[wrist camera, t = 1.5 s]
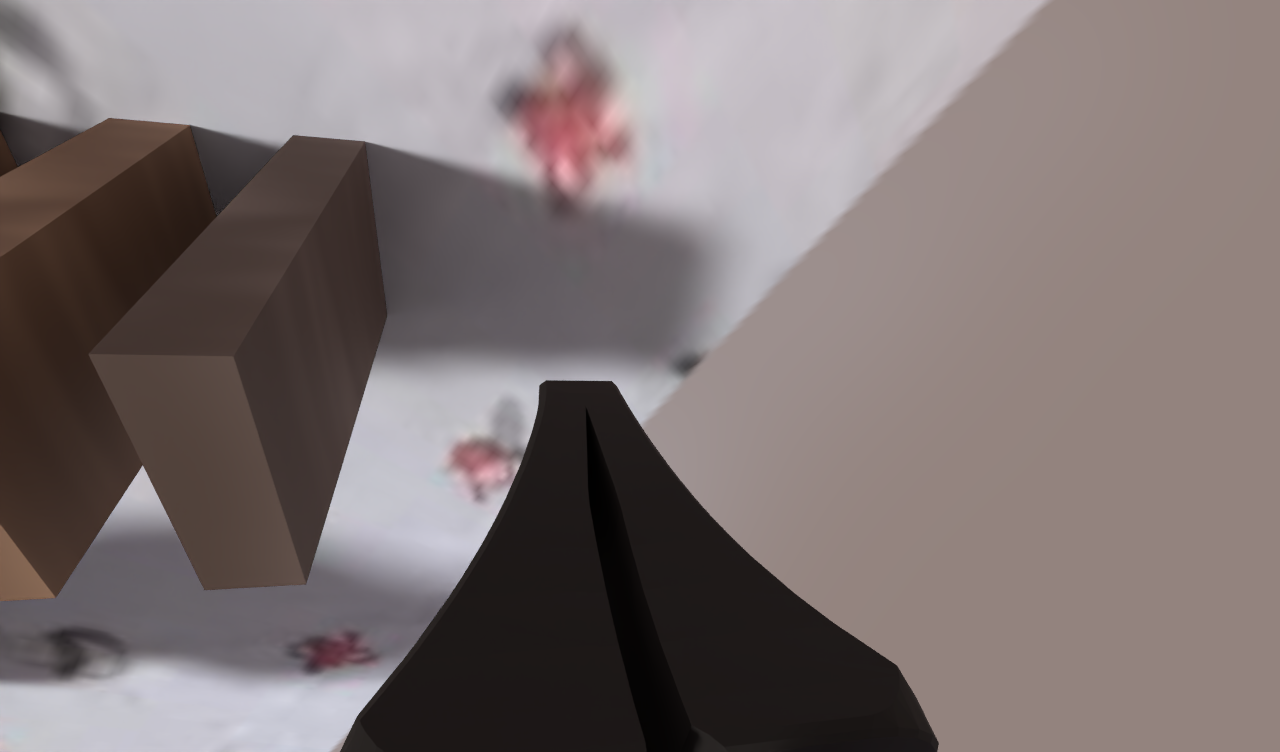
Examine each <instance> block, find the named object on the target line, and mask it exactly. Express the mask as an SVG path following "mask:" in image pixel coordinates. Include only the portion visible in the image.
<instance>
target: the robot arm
mask: <svg viewBox="0 0 1280 752" xmlns="http://www.w3.org/2000/svg"><path fill="white" fill-rule="evenodd" d="M938 745H939V743H938V741H937V739H936V737H935V735H934V733H933V731H932V729H931V727H930V725H929V723H928V721H927V719H926V717H925V715H924V712H923V710H922V708H921V706H920V704H919V702H918V700H917V698H916V697H915V695H914V693H913V691H912V690H911V688H910V687H909V685H908V683H907V682H906V680H905V678H904V677H903V675H902V673H901V672H900V670H899V668H898V667H897V665H895V664H894V663H892V662H891V661H889V660H888V659H886V658H885V657H883V656H882V655H880V654H879V653H877V652H876V651H875V650H873V649H872V648H870V647H869V646H867V645H865V644H864V643H863V642H861V641H860V640H858V639H857V638H855V637H854V636H852V635H851V634H849V633H848V632H846V631H845V630H843V629H842V628H840V627H839V626H837V625H836V624H834V623H833V622H832V621H830V620H829V619H828V618H826V617H825V616H824V615H822V614H821V613H820V612H818V611H817V610H816V609H814V608H813V607H812V606H810V605H809V604H808V603H806V602H805V601H804V600H802V599H801V598H800V597H798V596H797V595H796V594H795V593H793V592H792V591H791V590H790V589H788V588H787V587H786V586H785V585H784V584H783V583H782V582H781V581H779V580H778V579H777V578H776V577H775V576H773V575H772V574H771V573H770V572H769V571H768V570H767V569H765V568H764V567H763V566H762V565H761V564H760V563H758V562H757V561H756V560H755V559H754V558H753V557H751V556H750V555H749V554H748V553H747V552H746V551H745V550H744V549H743V548H742V547H741V546H740V545H739V544H738V543H737V542H736V541H735V540H734V539H733V538H732V537H731V536H730V535H729V534H728V533H727V532H726V531H725V530H724V529H723V528H722V527H721V526H720V525H719V524H718V523H717V522H716V521H715V520H714V519H713V518H712V517H711V516H710V515H709V513H708V512H707V511H706V510H705V509H704V508H703V507H702V506H701V504H699V502H698V501H697V500H696V499H695V498H694V496H693V495H692V494H691V493H690V492H689V490H688V489H687V488H686V487H685V485H684V484H683V483H682V482H681V481H680V479H679V478H678V477H677V476H676V474H675V473H674V472H673V470H672V469H671V468H670V467H669V465H668V464H667V463H666V461H665V460H664V459H663V457H662V456H661V454H660V453H659V452H658V450H657V449H656V447H655V446H654V445H653V443H652V442H651V440H650V439H649V438H648V436H647V435H646V433H645V432H644V430H643V429H642V427H641V426H640V424H639V422H638V421H637V419H636V418H635V416H634V415H633V413H632V411H631V410H630V408H629V407H628V405H627V403H626V402H625V400H624V398H623V396H622V395H621V393H620V391H619V389H618V387H617V386H616V385H615V384H614V383H613V382H612V381H547V380H546V381H545V382H543V383H542V384H541V385H540V386H539V405H538V411H537V415H536V419H535V423H534V427H533V430H532V434H531V436H530V439H529V442H528V445H527V448H526V451H525V454H524V457H523V460H522V462H521V465H520V467H519V470H518V472H517V474H516V476H515V479H514V481H513V483H512V486H511V488H510V490H509V492H508V495H507V497H506V499H505V501H504V503H503V505H502V507H501V509H500V511H499V513H498V515H497V517H496V519H495V521H494V523H493V525H492V527H491V529H490V530H489V532H488V534H487V536H486V538H485V540H484V541H483V543H482V545H481V547H480V548H479V550H478V552H477V553H476V555H475V557H474V558H473V560H472V562H471V563H470V565H469V566H468V568H467V570H466V571H465V573H464V575H463V576H462V578H461V579H460V581H459V583H458V584H457V586H456V587H455V589H454V590H453V592H452V593H451V595H450V596H449V598H448V599H447V601H446V602H445V603H444V605H443V606H442V608H441V609H440V610H439V612H438V613H437V615H436V616H435V617H434V619H433V620H432V622H431V623H430V624H429V626H428V627H427V629H426V630H425V631H424V633H423V634H422V636H421V637H420V638H419V640H418V641H417V643H416V644H415V645H414V647H413V648H412V649H411V650H410V652H409V653H408V654H407V656H406V657H405V658H404V660H403V661H402V662H401V663H400V664H399V666H398V667H397V668H396V669H395V671H394V672H393V673H392V674H391V675H390V677H389V678H388V679H387V680H386V682H385V683H384V684H383V685H382V686H381V688H380V689H379V690H378V691H377V693H376V694H375V695H374V696H373V697H372V699H371V700H370V701H369V702H368V704H367V705H366V706H365V707H364V708H363V710H362V711H361V712H360V713H359V715H358V716H357V718H356V720H355V722H354V724H353V726H352V728H351V730H350V732H349V734H348V736H347V738H346V740H345V743H344V745H343V747H342V749H341V751H340V752H937V750H938Z"/></svg>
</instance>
